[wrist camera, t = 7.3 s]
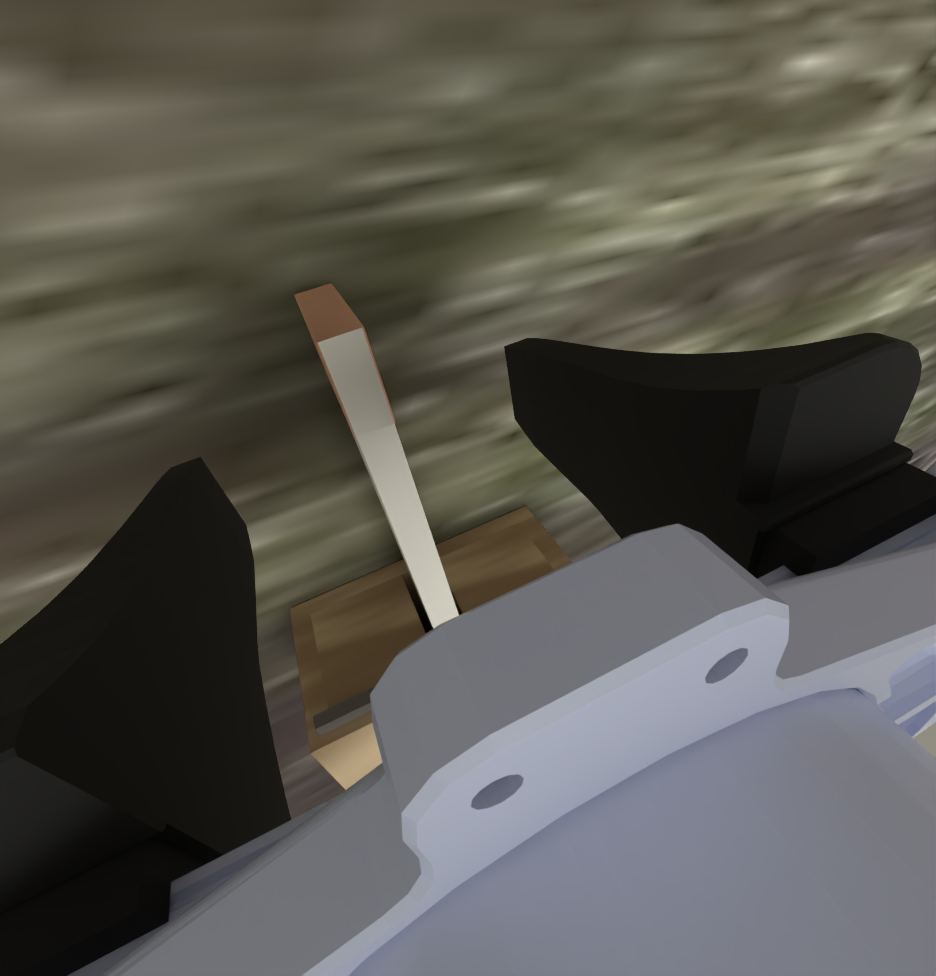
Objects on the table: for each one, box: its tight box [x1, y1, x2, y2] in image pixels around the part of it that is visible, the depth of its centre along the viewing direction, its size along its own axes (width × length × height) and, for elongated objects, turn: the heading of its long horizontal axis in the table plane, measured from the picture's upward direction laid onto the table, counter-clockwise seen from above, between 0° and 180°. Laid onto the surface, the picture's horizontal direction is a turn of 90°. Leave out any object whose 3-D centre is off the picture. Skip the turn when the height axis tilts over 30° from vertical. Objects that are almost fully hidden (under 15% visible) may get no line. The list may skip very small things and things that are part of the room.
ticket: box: [294, 283, 459, 629], centre depth 21 cm, size 19×1×5 cm, turn 11°
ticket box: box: [290, 506, 572, 790], centre depth 28 cm, size 15×14×8 cm
